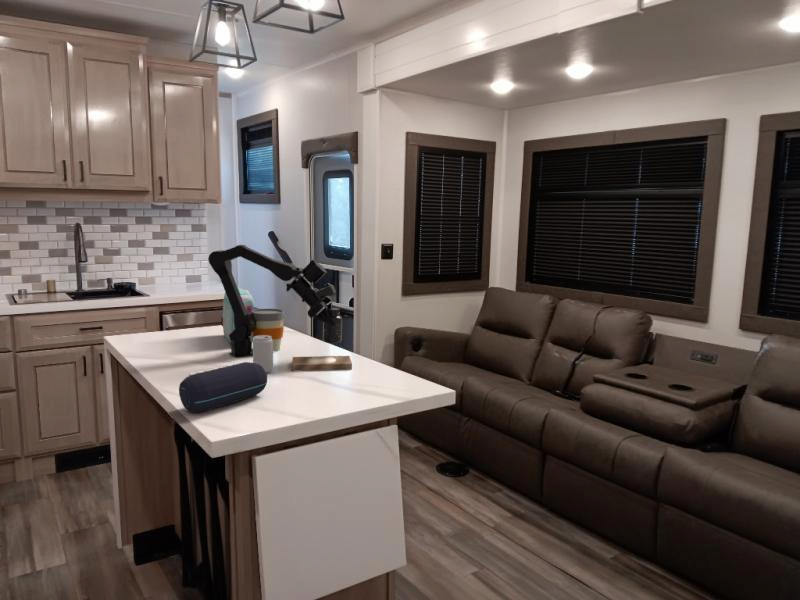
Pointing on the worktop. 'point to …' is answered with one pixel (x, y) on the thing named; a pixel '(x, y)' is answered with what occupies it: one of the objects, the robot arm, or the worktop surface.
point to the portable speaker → (222, 386)
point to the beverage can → (263, 352)
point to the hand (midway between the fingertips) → (336, 323)
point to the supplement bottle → (333, 327)
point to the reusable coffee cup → (269, 325)
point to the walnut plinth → (322, 363)
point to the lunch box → (228, 313)
